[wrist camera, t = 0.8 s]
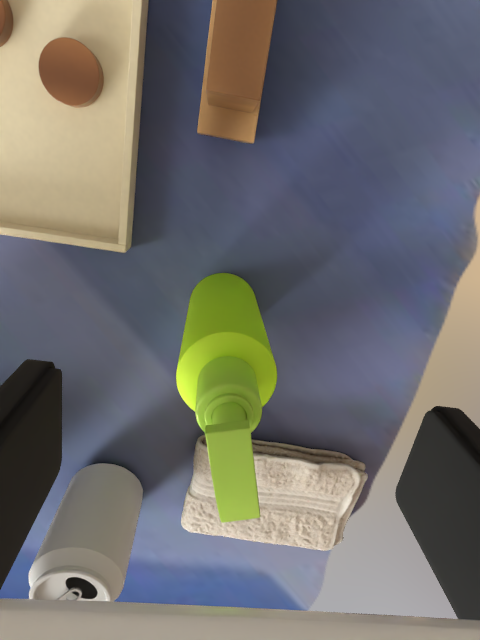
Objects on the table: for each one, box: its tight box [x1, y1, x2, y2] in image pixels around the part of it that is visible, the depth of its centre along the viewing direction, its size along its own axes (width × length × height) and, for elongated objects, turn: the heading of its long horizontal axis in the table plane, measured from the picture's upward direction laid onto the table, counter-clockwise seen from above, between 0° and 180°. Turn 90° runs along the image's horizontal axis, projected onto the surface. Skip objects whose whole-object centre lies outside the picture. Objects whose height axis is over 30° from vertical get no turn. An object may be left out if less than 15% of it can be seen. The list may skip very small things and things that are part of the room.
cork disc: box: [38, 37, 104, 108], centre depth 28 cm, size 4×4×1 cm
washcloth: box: [181, 435, 368, 551], centre depth 42 cm, size 12×18×3 cm, turn 78°
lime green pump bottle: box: [176, 273, 277, 523], centre depth 26 cm, size 6×7×20 cm
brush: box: [197, 0, 277, 144], centre depth 25 cm, size 4×11×9 cm, turn 170°
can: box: [29, 463, 143, 602], centre depth 37 cm, size 8×8×12 cm
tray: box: [0, 0, 149, 253], centre depth 27 cm, size 25×15×2 cm, turn 170°
